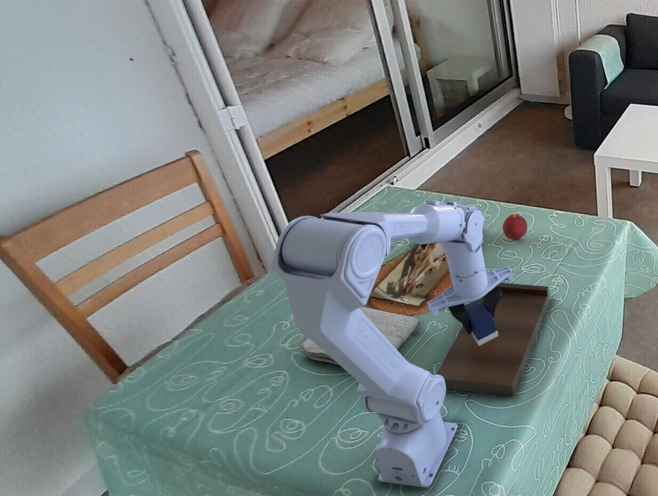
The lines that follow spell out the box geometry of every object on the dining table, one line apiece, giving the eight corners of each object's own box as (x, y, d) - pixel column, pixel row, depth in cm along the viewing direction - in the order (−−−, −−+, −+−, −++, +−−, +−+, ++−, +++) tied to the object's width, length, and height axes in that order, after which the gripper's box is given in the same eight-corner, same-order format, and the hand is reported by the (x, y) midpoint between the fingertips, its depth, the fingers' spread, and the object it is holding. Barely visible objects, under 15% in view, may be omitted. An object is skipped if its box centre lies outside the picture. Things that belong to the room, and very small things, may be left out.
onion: (502, 236, 124) (498, 209, 120) (525, 230, 126) (521, 203, 123) (507, 249, 119) (503, 222, 116) (531, 243, 121) (527, 216, 118)
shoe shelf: (514, 396, 85) (511, 380, 83) (436, 388, 86) (431, 372, 84) (550, 300, 104) (548, 286, 102) (486, 295, 106) (483, 281, 104)
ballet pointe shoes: (485, 206, 125) (419, 283, 100) (488, 227, 128) (425, 308, 103) (435, 199, 127) (359, 273, 103) (440, 220, 130) (367, 297, 105)
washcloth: (344, 310, 102) (340, 299, 101) (422, 324, 99) (419, 312, 98) (297, 358, 92) (292, 347, 91) (383, 375, 89) (378, 363, 87)
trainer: (498, 335, 89) (495, 319, 87) (478, 346, 87) (475, 329, 85) (480, 308, 95) (476, 292, 93) (461, 317, 93) (457, 301, 91)
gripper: (497, 238, 92) (507, 294, 98) (416, 272, 84) (431, 330, 90) (514, 257, 87) (523, 315, 93) (429, 295, 79) (445, 356, 85)
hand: (479, 324), depth 91 cm, fingers closed on trainer, 3 cm apart
